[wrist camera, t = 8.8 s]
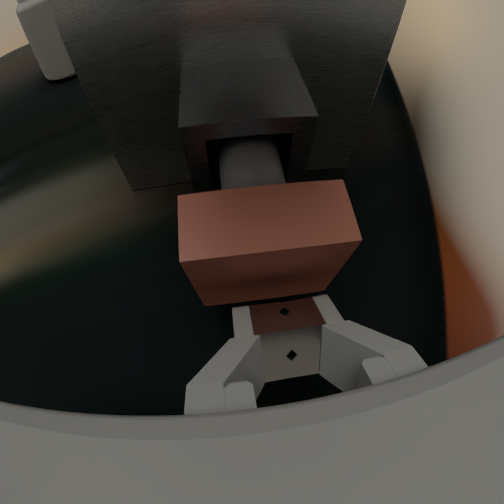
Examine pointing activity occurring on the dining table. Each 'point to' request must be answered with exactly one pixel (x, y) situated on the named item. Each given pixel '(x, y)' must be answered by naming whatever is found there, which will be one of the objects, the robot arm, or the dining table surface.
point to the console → (227, 79)
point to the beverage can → (45, 38)
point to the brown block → (263, 228)
